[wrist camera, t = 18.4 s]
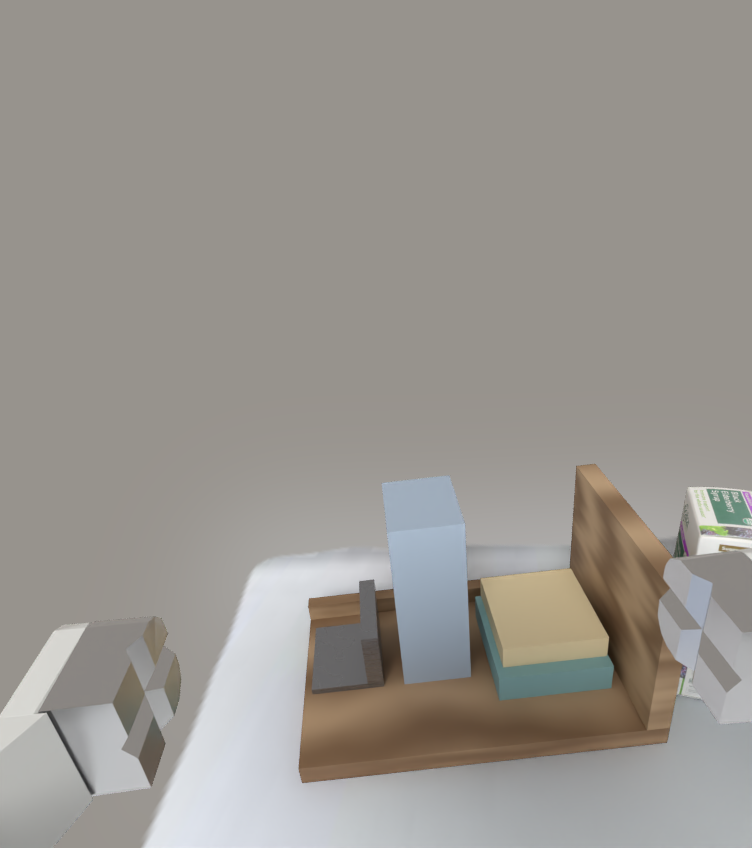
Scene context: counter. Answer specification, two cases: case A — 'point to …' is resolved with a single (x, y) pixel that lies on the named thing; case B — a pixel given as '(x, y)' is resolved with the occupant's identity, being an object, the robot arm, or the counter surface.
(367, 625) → the bookend
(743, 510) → the syrup box
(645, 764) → the counter surface
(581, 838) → the counter surface
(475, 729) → the shelf
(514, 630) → the book stack
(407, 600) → the light blue upright block
